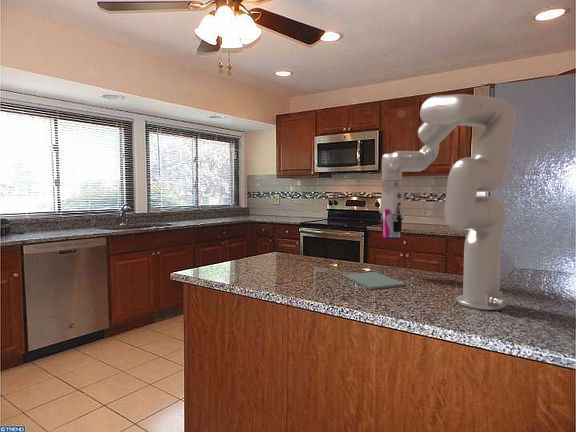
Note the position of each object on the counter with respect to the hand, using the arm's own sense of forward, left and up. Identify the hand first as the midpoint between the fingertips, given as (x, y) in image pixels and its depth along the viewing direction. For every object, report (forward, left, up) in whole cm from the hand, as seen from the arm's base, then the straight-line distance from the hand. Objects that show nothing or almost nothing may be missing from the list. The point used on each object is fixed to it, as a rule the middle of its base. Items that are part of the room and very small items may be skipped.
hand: (391, 230), depth 150 cm
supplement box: (0, 0, -3) cm, 3 cm away
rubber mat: (-7, +12, -18) cm, 22 cm away
